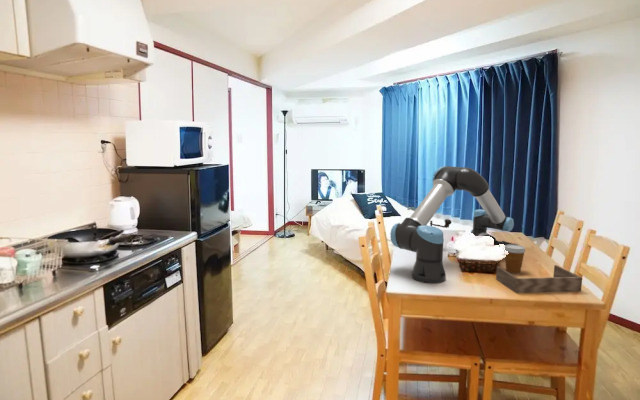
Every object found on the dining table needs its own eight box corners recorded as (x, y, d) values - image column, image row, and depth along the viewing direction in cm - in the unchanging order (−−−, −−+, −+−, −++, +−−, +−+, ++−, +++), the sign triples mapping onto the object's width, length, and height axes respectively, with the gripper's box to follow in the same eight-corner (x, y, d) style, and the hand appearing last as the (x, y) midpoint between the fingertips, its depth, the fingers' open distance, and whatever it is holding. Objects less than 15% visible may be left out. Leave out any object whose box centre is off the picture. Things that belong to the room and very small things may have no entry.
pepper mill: (425, 251, 233) (426, 220, 230) (418, 246, 244) (419, 216, 241) (451, 250, 234) (452, 219, 232) (443, 245, 245) (444, 216, 243)
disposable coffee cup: (498, 269, 201) (499, 245, 199) (512, 266, 204) (513, 243, 203) (514, 275, 192) (515, 250, 190) (528, 272, 196) (530, 248, 194)
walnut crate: (515, 293, 169) (516, 279, 168) (496, 279, 186) (496, 266, 185) (580, 291, 171) (582, 277, 170) (555, 277, 188) (556, 265, 187)
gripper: (508, 247, 227) (529, 258, 206) (464, 247, 226) (481, 258, 205) (509, 233, 226) (530, 243, 205) (465, 234, 225) (482, 244, 204)
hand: (506, 251), depth 205 cm, fingers open, 13 cm apart
